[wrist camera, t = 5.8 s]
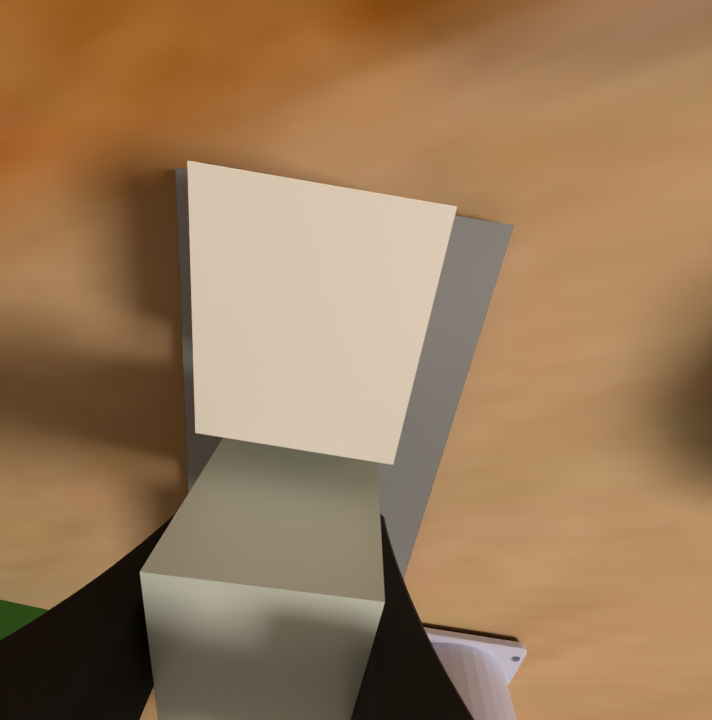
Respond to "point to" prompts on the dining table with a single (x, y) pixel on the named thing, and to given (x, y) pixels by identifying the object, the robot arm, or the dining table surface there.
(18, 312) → the dining table surface
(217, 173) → the plate
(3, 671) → the robot arm
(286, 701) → the block
